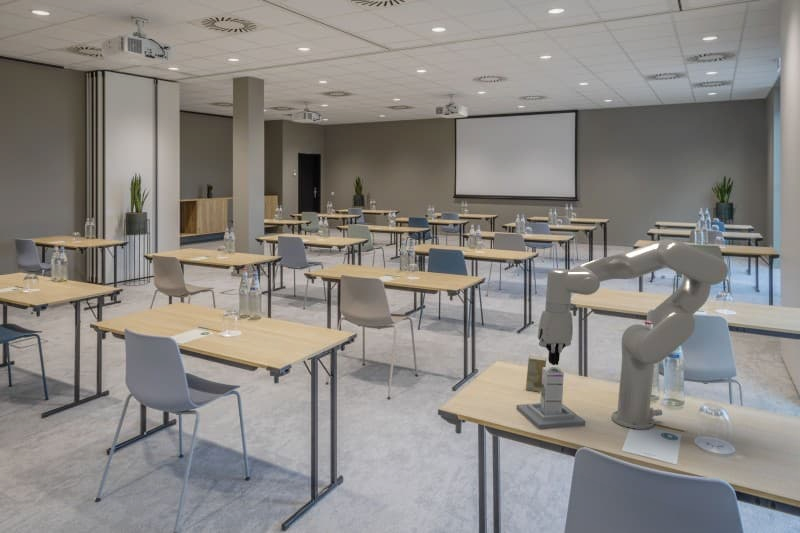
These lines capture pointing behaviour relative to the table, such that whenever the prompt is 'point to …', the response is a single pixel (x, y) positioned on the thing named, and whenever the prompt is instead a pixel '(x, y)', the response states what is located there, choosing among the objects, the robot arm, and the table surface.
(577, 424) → the socket plate
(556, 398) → the syrup box
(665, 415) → the table surface
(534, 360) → the skincare box
